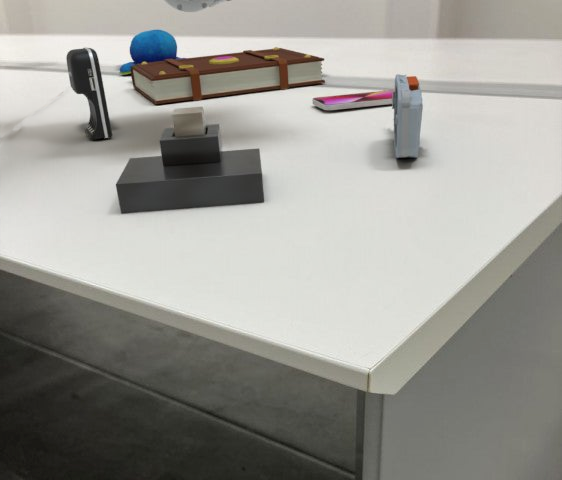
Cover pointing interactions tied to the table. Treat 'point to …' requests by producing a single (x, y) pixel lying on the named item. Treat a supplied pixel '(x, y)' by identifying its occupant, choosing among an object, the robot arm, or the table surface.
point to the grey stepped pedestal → (191, 175)
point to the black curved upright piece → (90, 89)
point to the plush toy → (151, 48)
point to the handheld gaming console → (407, 116)
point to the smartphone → (354, 100)
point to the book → (225, 74)
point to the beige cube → (188, 121)
